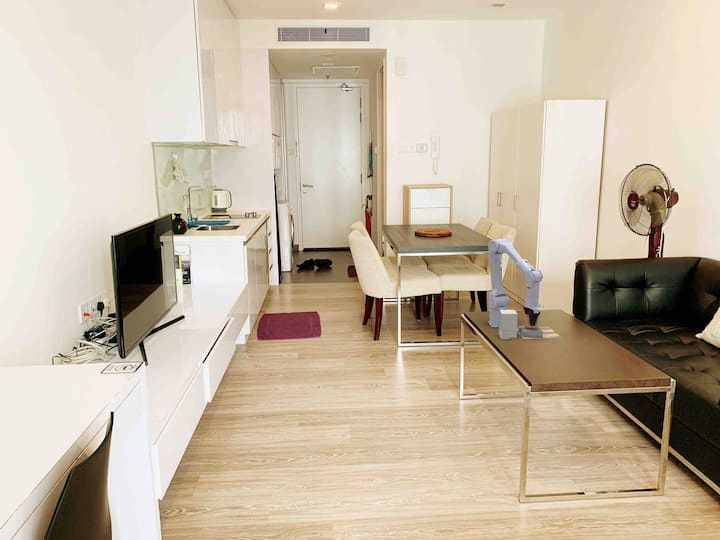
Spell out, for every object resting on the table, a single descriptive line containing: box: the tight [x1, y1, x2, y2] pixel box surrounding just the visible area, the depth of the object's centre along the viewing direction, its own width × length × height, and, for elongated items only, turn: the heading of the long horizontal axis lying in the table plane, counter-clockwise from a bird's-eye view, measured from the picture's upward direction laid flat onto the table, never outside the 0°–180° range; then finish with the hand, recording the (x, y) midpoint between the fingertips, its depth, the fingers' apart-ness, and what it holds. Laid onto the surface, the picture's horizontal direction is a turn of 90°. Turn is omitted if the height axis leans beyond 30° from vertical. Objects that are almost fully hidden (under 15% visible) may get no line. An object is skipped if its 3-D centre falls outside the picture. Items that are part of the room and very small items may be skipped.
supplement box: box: [498, 309, 519, 340], centre depth 260 cm, size 7×7×13 cm
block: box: [523, 313, 539, 328], centre depth 261 cm, size 5×5×5 cm
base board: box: [517, 325, 563, 340], centre depth 265 cm, size 18×18×4 cm
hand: (530, 323), depth 261 cm, fingers closed on block, 5 cm apart
